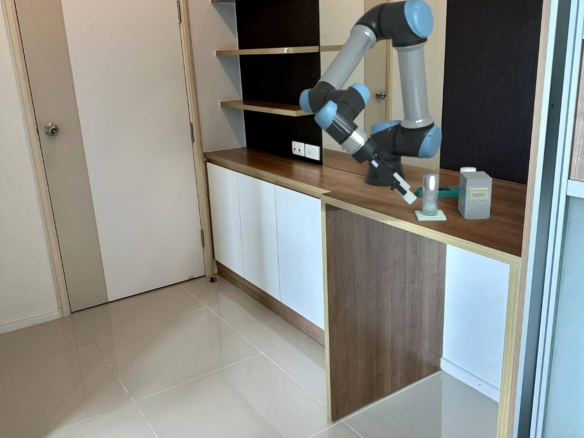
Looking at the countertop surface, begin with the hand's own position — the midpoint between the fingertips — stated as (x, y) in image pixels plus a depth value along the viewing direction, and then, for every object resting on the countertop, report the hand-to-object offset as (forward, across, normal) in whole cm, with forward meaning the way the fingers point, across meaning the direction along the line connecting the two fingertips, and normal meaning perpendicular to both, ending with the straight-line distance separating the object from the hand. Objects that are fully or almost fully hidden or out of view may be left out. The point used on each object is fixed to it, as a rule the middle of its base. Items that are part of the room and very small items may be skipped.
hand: (410, 195), depth 160 cm
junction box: (+18, -2, +9) cm, 20 cm away
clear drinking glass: (+8, 0, 0) cm, 8 cm away
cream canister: (+18, -12, +9) cm, 24 cm away
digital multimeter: (+14, -26, +4) cm, 30 cm away
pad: (+9, 0, 0) cm, 9 cm away
